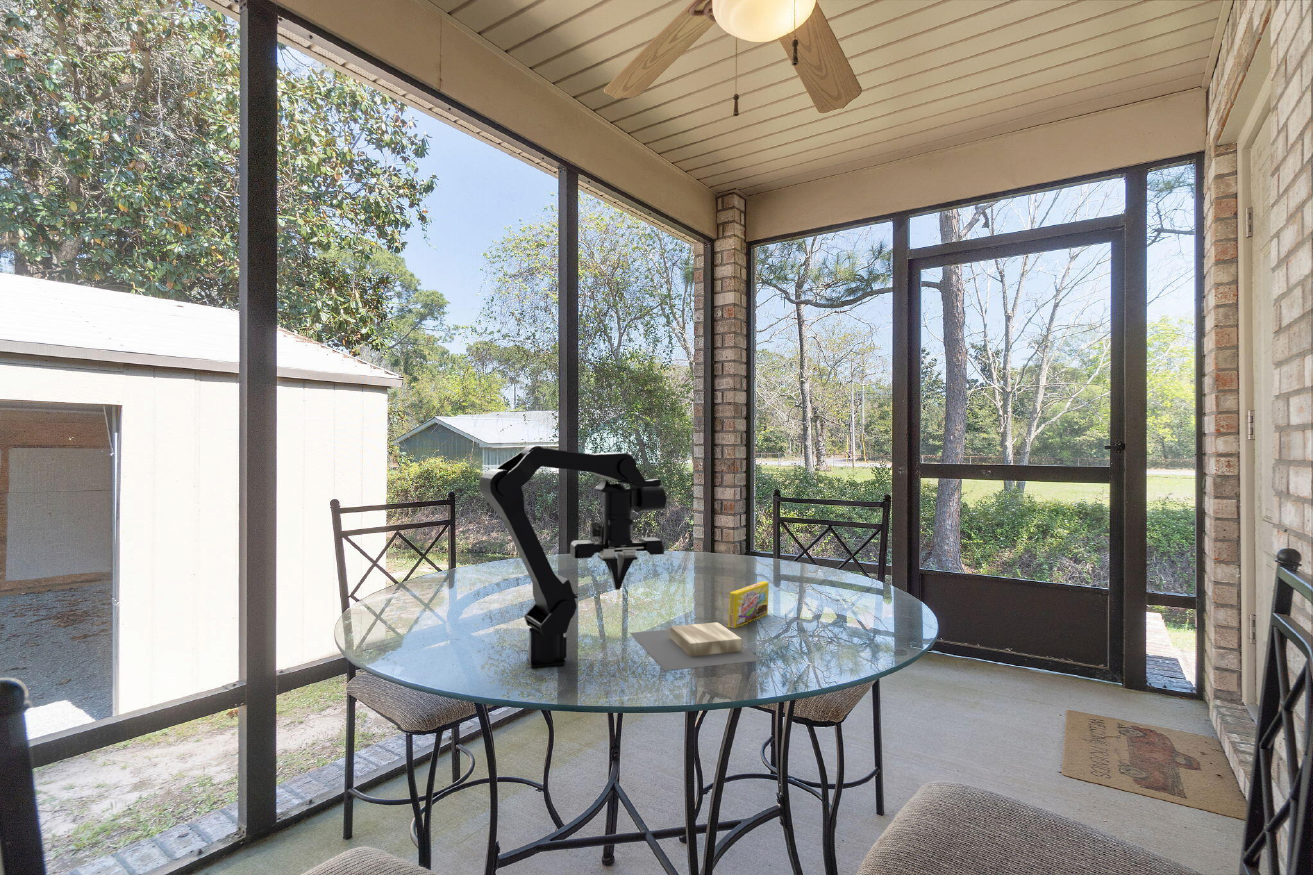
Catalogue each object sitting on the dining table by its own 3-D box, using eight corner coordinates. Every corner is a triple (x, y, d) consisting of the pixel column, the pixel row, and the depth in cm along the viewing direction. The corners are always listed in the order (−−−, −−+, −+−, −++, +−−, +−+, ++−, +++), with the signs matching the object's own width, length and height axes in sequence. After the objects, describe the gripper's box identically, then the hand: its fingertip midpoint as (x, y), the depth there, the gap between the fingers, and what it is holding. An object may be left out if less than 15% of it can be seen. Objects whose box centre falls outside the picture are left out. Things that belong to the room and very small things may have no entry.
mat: (664, 672, 118) (664, 670, 118) (629, 634, 140) (629, 632, 140) (762, 661, 124) (762, 660, 124) (713, 626, 147) (713, 625, 147)
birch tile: (690, 643, 126) (741, 638, 129) (670, 626, 137) (717, 622, 140) (690, 656, 126) (741, 650, 129) (670, 638, 137) (717, 633, 140)
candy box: (735, 630, 144) (736, 593, 144) (727, 628, 146) (727, 592, 146) (769, 614, 157) (769, 581, 157) (761, 613, 159) (761, 580, 159)
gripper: (649, 508, 142) (648, 578, 142) (565, 510, 136) (565, 583, 136) (665, 513, 131) (664, 589, 131) (575, 516, 126) (575, 596, 126)
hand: (617, 589), depth 131 cm, fingers closed
